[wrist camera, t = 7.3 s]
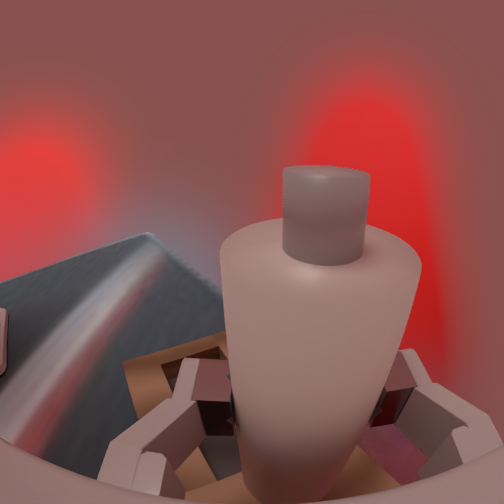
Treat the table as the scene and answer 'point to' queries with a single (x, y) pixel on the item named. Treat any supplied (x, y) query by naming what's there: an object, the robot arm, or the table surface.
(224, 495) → the board
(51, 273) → the table surface
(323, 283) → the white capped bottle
